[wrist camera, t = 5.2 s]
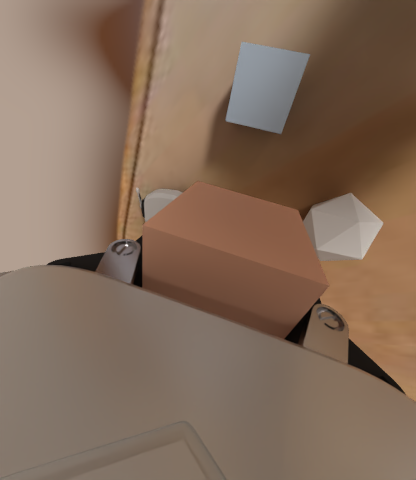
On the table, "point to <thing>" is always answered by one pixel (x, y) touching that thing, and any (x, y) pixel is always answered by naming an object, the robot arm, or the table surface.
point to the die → (341, 228)
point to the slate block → (265, 86)
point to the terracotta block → (233, 258)
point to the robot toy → (156, 201)
